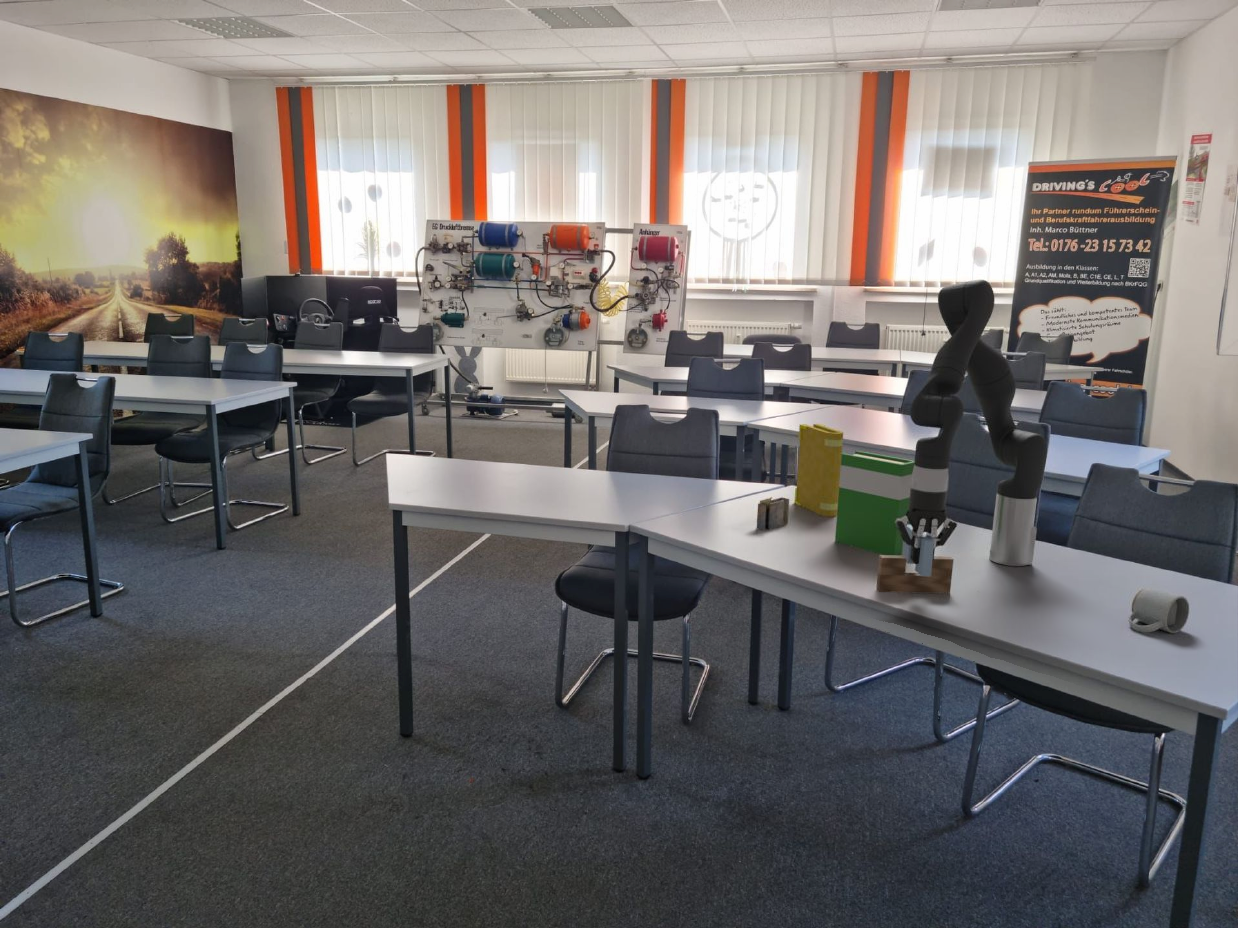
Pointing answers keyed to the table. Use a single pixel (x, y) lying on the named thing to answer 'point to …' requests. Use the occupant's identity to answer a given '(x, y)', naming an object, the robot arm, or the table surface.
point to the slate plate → (925, 553)
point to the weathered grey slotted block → (772, 513)
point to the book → (819, 469)
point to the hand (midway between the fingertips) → (921, 562)
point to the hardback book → (873, 501)
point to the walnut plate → (913, 576)
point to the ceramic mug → (1159, 611)
